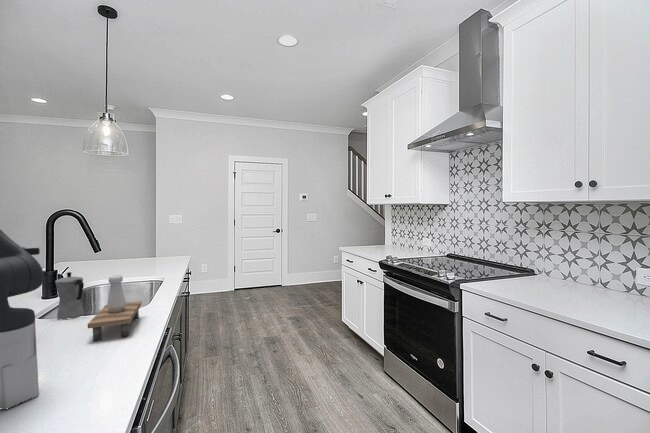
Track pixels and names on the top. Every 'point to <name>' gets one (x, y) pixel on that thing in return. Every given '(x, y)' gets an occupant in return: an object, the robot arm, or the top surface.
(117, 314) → the slatted wooden bench
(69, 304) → the coffeepot
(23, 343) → the robot arm
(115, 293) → the salt shaker
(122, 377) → the top surface
